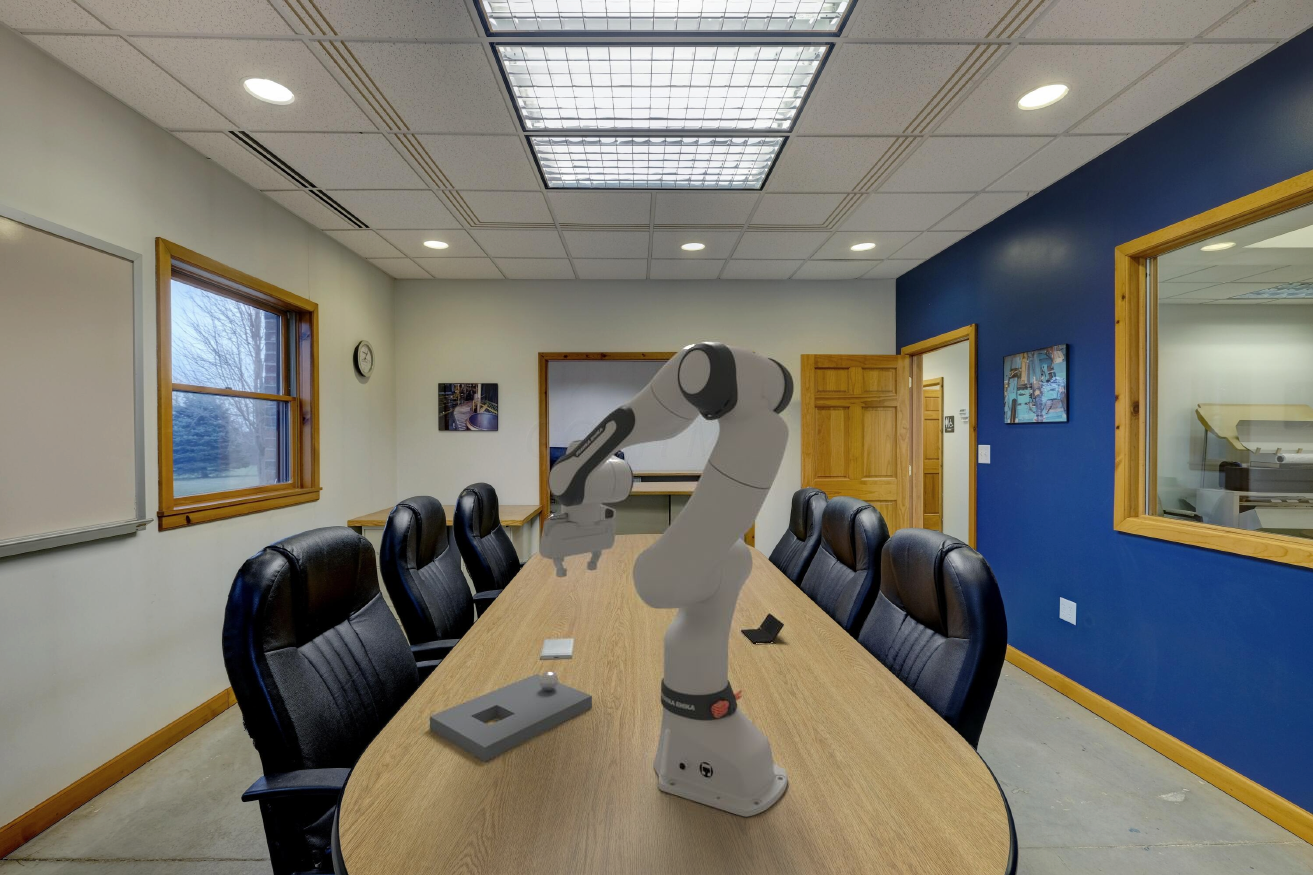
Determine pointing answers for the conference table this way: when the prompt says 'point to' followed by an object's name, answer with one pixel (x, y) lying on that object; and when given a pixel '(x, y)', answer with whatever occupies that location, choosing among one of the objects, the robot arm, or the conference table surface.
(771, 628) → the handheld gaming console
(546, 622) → the conference table surface
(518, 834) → the conference table surface
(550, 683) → the steel ball
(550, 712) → the board
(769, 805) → the robot arm
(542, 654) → the hard drive
